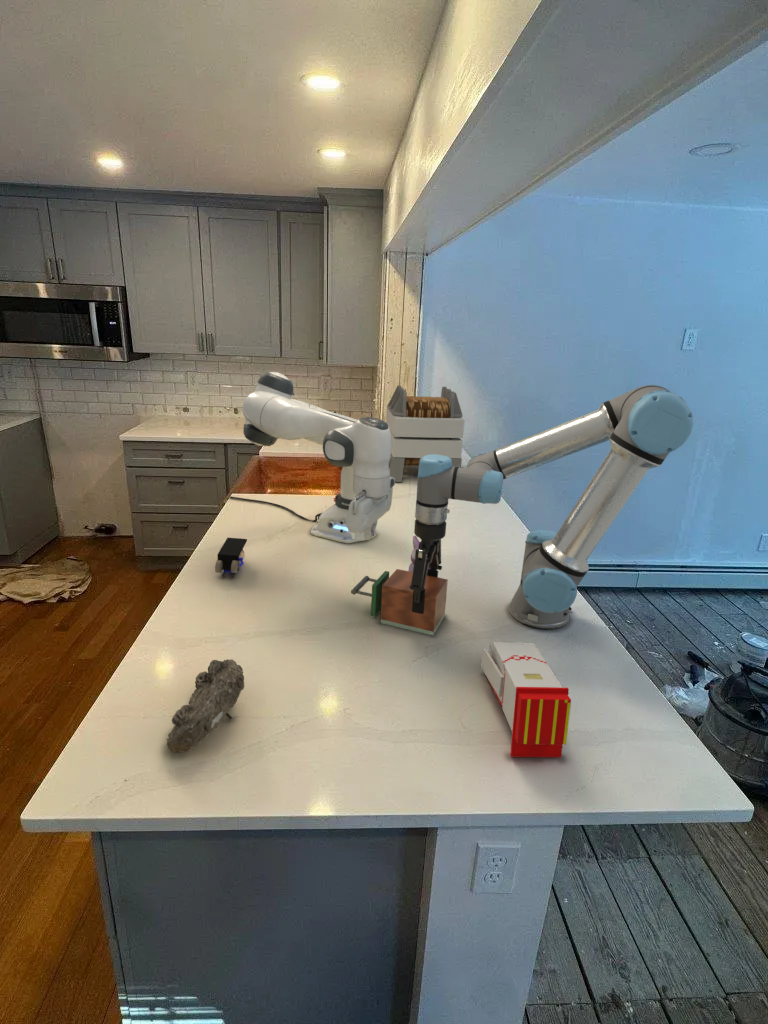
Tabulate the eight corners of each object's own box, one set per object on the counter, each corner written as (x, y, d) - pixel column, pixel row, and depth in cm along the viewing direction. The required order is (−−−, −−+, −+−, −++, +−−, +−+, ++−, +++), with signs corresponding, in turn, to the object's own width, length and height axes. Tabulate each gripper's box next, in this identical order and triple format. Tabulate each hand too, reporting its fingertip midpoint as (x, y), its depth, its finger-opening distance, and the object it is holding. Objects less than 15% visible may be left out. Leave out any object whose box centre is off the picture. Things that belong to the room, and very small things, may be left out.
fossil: (192, 660, 117) (244, 628, 112) (224, 691, 120) (276, 661, 115) (142, 746, 98) (202, 712, 93) (182, 779, 101) (242, 748, 96)
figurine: (415, 595, 157) (419, 545, 152) (397, 579, 166) (400, 532, 161) (444, 589, 161) (448, 540, 156) (425, 574, 170) (428, 527, 165)
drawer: (350, 611, 146) (350, 580, 143) (364, 595, 154) (365, 566, 151) (418, 627, 140) (420, 595, 137) (429, 610, 148) (431, 580, 145)
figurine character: (238, 584, 162) (249, 557, 175) (236, 562, 158) (247, 536, 172) (215, 584, 161) (227, 556, 175) (212, 561, 158) (225, 535, 171)
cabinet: (380, 622, 143) (382, 585, 139) (394, 604, 152) (396, 568, 149) (433, 635, 138) (436, 597, 135) (444, 616, 148) (447, 579, 144)
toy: (531, 625, 126) (580, 695, 97) (526, 680, 129) (572, 765, 100) (477, 624, 126) (510, 694, 96) (473, 679, 129) (504, 764, 99)
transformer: (382, 463, 289) (386, 382, 275) (445, 464, 293) (451, 384, 279) (390, 482, 257) (394, 392, 243) (460, 483, 261) (468, 394, 247)
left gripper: (366, 499, 128) (364, 555, 132) (397, 477, 146) (394, 527, 150) (341, 495, 130) (339, 550, 135) (374, 473, 148) (372, 523, 153)
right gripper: (431, 539, 124) (425, 627, 131) (458, 508, 144) (450, 586, 151) (399, 533, 126) (394, 620, 134) (429, 503, 146) (424, 580, 154)
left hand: (369, 537), depth 143 cm, fingers closed
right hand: (424, 602), depth 142 cm, fingers closed on cabinet, 10 cm apart
